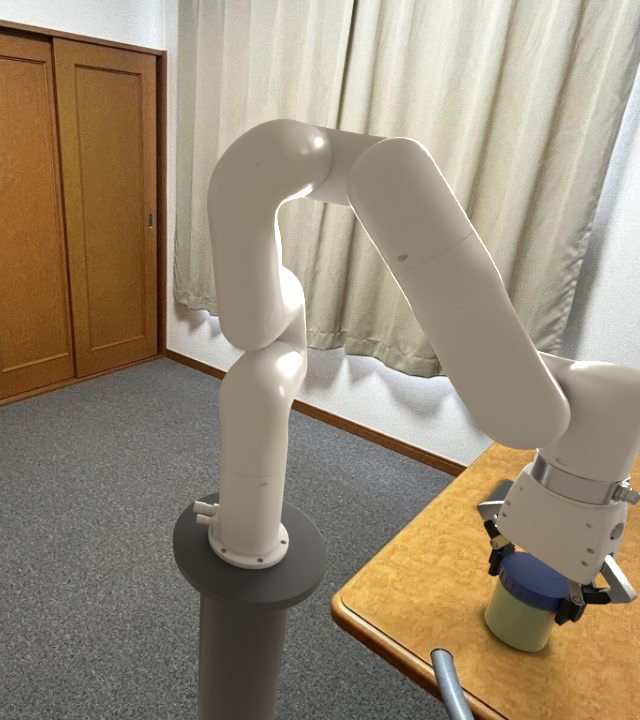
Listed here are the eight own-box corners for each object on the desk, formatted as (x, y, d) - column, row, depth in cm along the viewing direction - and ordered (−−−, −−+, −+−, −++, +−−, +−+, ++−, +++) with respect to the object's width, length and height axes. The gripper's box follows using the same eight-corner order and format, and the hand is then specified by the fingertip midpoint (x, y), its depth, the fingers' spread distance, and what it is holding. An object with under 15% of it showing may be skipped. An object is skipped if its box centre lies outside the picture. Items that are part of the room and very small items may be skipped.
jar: (490, 641, 59) (510, 591, 55) (479, 600, 64) (497, 552, 61) (553, 659, 57) (577, 608, 53) (535, 615, 62) (557, 566, 59)
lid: (582, 597, 56) (588, 585, 55) (546, 619, 53) (551, 607, 52) (519, 555, 62) (524, 543, 61) (484, 573, 59) (488, 561, 58)
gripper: (703, 514, 45) (634, 642, 52) (513, 428, 60) (479, 537, 67) (662, 539, 42) (595, 671, 49) (474, 443, 57) (443, 555, 64)
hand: (529, 593), depth 58 cm, fingers closed on lid, 7 cm apart
